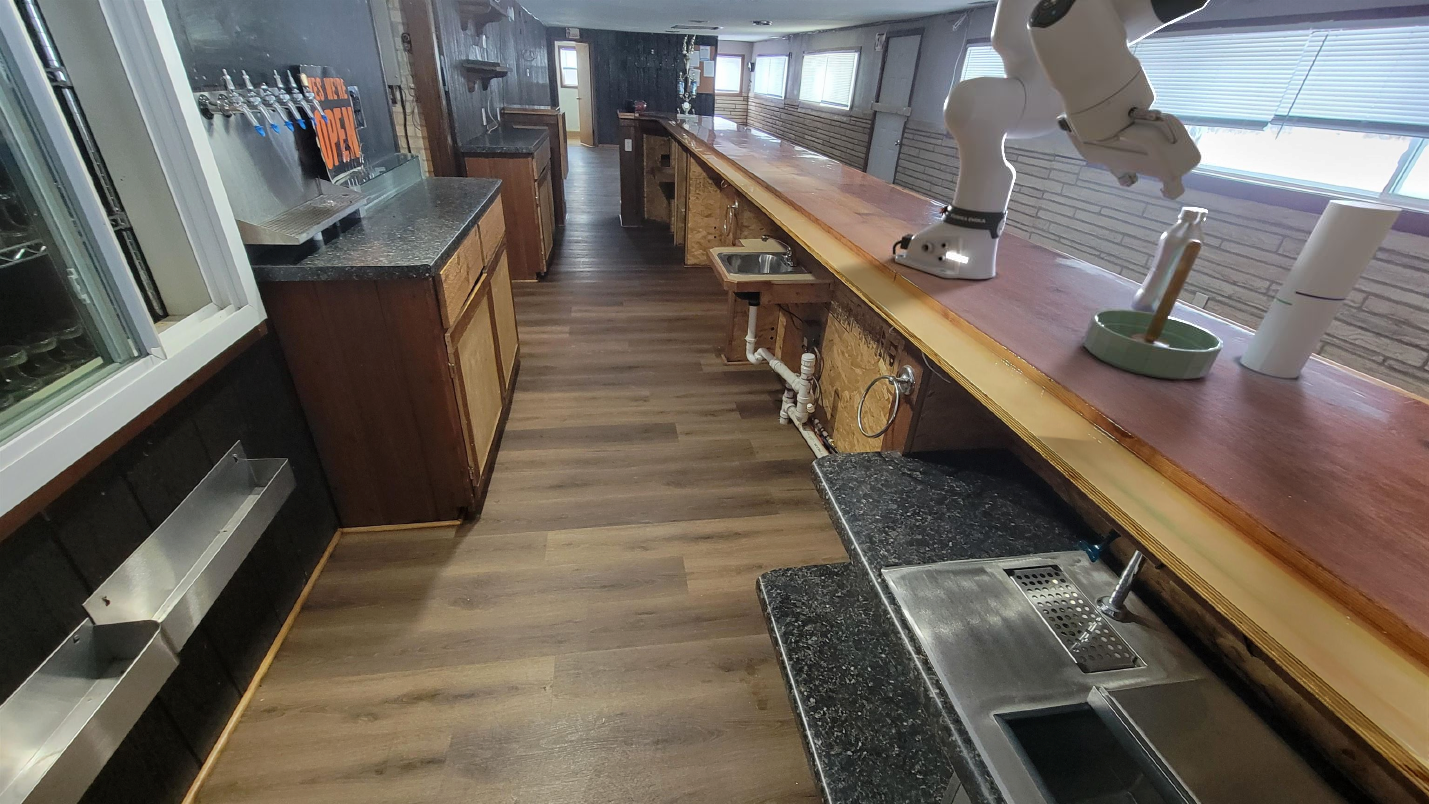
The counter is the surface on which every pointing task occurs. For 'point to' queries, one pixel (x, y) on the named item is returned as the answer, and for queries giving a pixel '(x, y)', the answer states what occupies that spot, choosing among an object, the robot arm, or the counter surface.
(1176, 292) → the brown stick
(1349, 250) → the cylindrical container
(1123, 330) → the bowl
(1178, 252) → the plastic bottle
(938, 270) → the robot arm
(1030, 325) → the counter surface
